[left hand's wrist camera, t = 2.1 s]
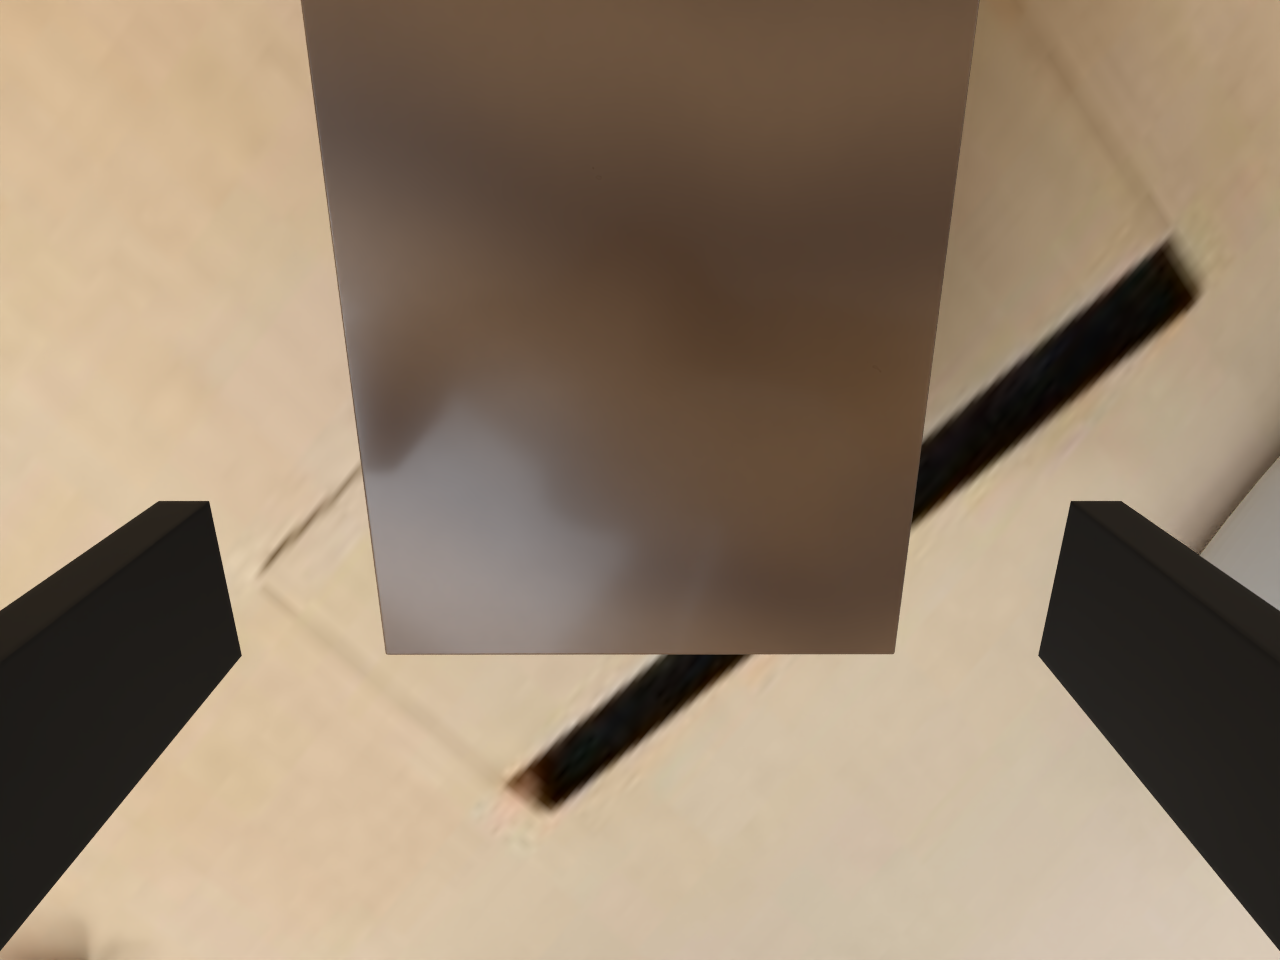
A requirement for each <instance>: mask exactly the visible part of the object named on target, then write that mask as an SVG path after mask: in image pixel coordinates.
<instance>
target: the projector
mask: <svg viewBox="0 0 1280 960" xmlns="http://www.w3.org/2000/svg"><path fill="white" fill-rule="evenodd" d="M1200 556H1201V557H1203V558H1204V559H1206V560H1207V561H1208V562H1210V563H1211V564H1213V565H1214V566H1216V567H1217V568H1219V569H1220V570H1221V571H1223V572H1224V573H1226V574H1227V575H1229V576H1230V577H1232V578H1233V579H1234V580H1236V581H1237V582H1239V583H1240V584H1242V585H1243V586H1245V587H1246V588H1247V589H1249V590H1250V591H1252V592H1253V593H1255V594H1256V595H1258V596H1259V597H1260V598H1262V599H1263V600H1265V601H1266V602H1268V603H1269V604H1271V605H1272V606H1273V607H1275V608H1276V609H1278V610H1279V611H1280V456H1279V457H1278V459H1277V460H1276V461H1275V462H1274V463H1273V464H1272V466H1271V467H1270V468H1269V469H1268V470H1267V471H1266V472H1265V474H1264V475H1263V476H1262V477H1261V478H1260V479H1259V481H1258V482H1257V483H1256V484H1255V485H1254V487H1253V488H1252V489H1251V490H1250V492H1249V493H1248V494H1247V495H1246V496H1245V498H1244V499H1243V500H1242V501H1241V503H1240V504H1239V505H1238V506H1237V508H1236V509H1235V510H1234V511H1233V512H1232V514H1231V515H1230V516H1229V517H1228V519H1227V520H1226V521H1225V523H1224V524H1223V525H1222V526H1221V528H1220V529H1219V530H1218V532H1217V533H1216V534H1215V536H1214V537H1213V538H1212V540H1211V541H1210V542H1209V544H1208V545H1207V546H1206V547H1205V549H1204V550H1203V551H1202V553H1201V554H1200Z"/></svg>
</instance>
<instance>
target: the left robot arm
mask: <svg viewBox="0 0 1280 960" xmlns="http://www.w3.org/2000/svg"><path fill="white" fill-rule="evenodd" d="M241 656H242V655H241V650H240V646H239V641H238V636H237V631H236V627H235V622H234V617H233V612H232V608H231V603H230V598H229V593H228V589H227V584H226V579H225V574H224V570H223V565H222V560H221V556H220V551H219V546H218V541H217V537H216V532H215V527H214V522H213V518H212V513H211V508H210V503H209V501H158V502H157V503H155V504H154V505H152V506H151V507H150V508H148V509H147V510H145V511H144V512H142V513H141V514H139V515H138V516H137V517H135V518H134V519H132V520H131V521H129V522H128V523H126V524H125V525H124V526H122V527H121V528H119V529H118V530H116V531H115V532H113V533H112V534H111V535H109V536H108V537H106V538H105V539H103V540H102V541H100V542H99V543H98V544H96V545H95V546H93V547H92V548H90V549H89V550H87V551H86V552H85V553H83V554H82V555H80V556H79V557H77V558H76V559H74V560H73V561H72V562H70V563H69V564H67V565H66V566H64V567H63V568H61V569H60V570H59V571H57V572H56V573H54V574H53V575H51V576H50V577H48V578H47V579H46V580H44V581H43V582H41V583H40V584H38V585H37V586H35V587H34V588H33V589H31V590H30V591H28V592H27V593H25V594H24V595H22V596H21V597H20V598H18V599H17V600H15V601H14V602H12V603H11V604H9V605H8V606H7V607H5V608H4V609H2V610H1V611H0V951H1V949H2V948H3V947H4V946H5V945H6V943H7V942H8V941H9V940H10V938H11V937H12V936H13V935H14V933H15V932H16V931H17V930H18V929H19V927H20V926H21V925H22V924H23V922H24V921H25V920H26V919H27V918H28V916H29V915H30V914H31V913H32V911H33V910H34V909H35V908H36V907H37V905H38V904H39V903H40V902H41V900H42V899H43V898H44V897H45V896H46V894H47V893H48V892H49V891H50V889H51V888H52V887H53V886H54V885H55V883H56V882H57V881H58V880H59V878H60V877H61V876H62V875H63V874H64V872H65V871H66V870H67V869H68V867H69V866H70V865H71V864H72V863H73V861H74V860H75V859H76V858H77V856H78V855H79V854H80V853H81V852H82V850H83V849H84V848H85V847H86V845H87V844H88V843H89V842H90V840H91V839H92V838H93V837H94V836H95V834H96V833H97V832H98V831H99V829H100V828H101V827H102V826H103V825H104V823H105V822H106V821H107V820H108V818H109V817H110V816H111V815H112V814H113V812H114V811H115V810H116V809H117V807H118V806H119V805H120V804H121V803H122V801H123V800H124V799H125V798H126V796H127V795H128V794H129V793H130V792H131V790H132V789H133V788H134V787H135V785H136V784H137V783H138V782H139V781H140V779H141V778H142V777H143V776H144V774H145V773H146V772H147V771H148V770H149V768H150V767H151V766H152V765H153V763H154V762H155V761H156V760H157V759H158V757H159V756H160V755H161V754H162V752H163V751H164V750H165V749H166V747H167V746H168V745H169V744H170V743H171V741H172V740H173V739H174V738H175V736H176V735H177V734H178V733H179V732H180V730H181V729H182V728H183V727H184V725H185V724H186V723H187V722H188V721H189V719H190V718H191V717H192V716H193V714H194V713H195V712H196V711H197V710H198V708H199V707H200V706H201V705H202V703H203V702H204V701H205V700H206V699H207V697H208V696H209V695H210V694H211V692H212V691H213V690H214V689H215V688H216V686H217V685H218V684H219V683H220V681H221V680H222V679H223V678H224V677H225V675H226V674H227V673H228V672H229V670H230V669H231V668H232V667H233V666H234V664H235V663H236V662H237V661H238V659H239V658H240V657H241ZM1038 656H1039V657H1040V658H1041V659H1042V661H1043V662H1044V663H1045V664H1046V666H1047V667H1048V668H1049V669H1050V670H1051V672H1052V673H1053V674H1054V675H1055V677H1056V678H1057V679H1058V680H1059V681H1060V683H1061V684H1062V685H1063V686H1064V688H1065V689H1066V690H1067V691H1068V692H1069V694H1070V695H1071V696H1072V697H1073V699H1074V700H1075V701H1076V702H1077V703H1078V705H1079V706H1080V707H1081V708H1082V710H1083V711H1084V712H1085V713H1086V714H1087V716H1088V717H1089V718H1090V719H1091V721H1092V722H1093V723H1094V724H1095V725H1096V727H1097V728H1098V729H1099V730H1100V732H1101V733H1102V734H1103V735H1104V736H1105V738H1106V739H1107V740H1108V741H1109V743H1110V744H1111V745H1112V746H1113V747H1114V749H1115V750H1116V751H1117V752H1118V754H1119V755H1120V756H1121V757H1122V759H1123V760H1124V761H1125V762H1126V763H1127V765H1128V766H1129V767H1130V768H1131V770H1132V771H1133V772H1134V773H1135V774H1136V776H1137V777H1138V778H1139V779H1140V781H1141V782H1142V783H1143V784H1144V785H1145V787H1146V788H1147V789H1148V790H1149V792H1150V793H1151V794H1152V795H1153V796H1154V798H1155V799H1156V800H1157V801H1158V803H1159V804H1160V805H1161V806H1162V807H1163V809H1164V810H1165V811H1166V812H1167V814H1168V815H1169V816H1170V817H1171V818H1172V820H1173V821H1174V822H1175V823H1176V825H1177V826H1178V827H1179V828H1180V829H1181V831H1182V832H1183V833H1184V834H1185V836H1186V837H1187V838H1188V839H1189V840H1190V842H1191V843H1192V844H1193V845H1194V847H1195V848H1196V849H1197V850H1198V852H1199V853H1200V854H1201V855H1202V856H1203V858H1204V859H1205V860H1206V861H1207V863H1208V864H1209V865H1210V866H1211V867H1212V869H1213V870H1214V871H1215V872H1216V874H1217V875H1218V876H1219V877H1220V878H1221V880H1222V881H1223V882H1224V883H1225V885H1226V886H1227V887H1228V888H1229V889H1230V891H1231V892H1232V893H1233V894H1234V896H1235V897H1236V898H1237V899H1238V900H1239V902H1240V903H1241V904H1242V905H1243V907H1244V908H1245V909H1246V910H1247V911H1248V913H1249V914H1250V915H1251V916H1252V918H1253V919H1254V920H1255V921H1256V922H1257V924H1258V925H1259V926H1260V927H1261V929H1262V930H1263V931H1264V932H1265V933H1266V935H1267V936H1268V937H1269V938H1270V940H1271V941H1272V942H1273V943H1274V945H1275V946H1276V947H1277V948H1278V949H1279V951H1280V611H1279V610H1278V609H1276V608H1275V607H1273V606H1272V605H1271V604H1269V603H1268V602H1266V601H1265V600H1263V599H1262V598H1260V597H1259V596H1258V595H1256V594H1255V593H1253V592H1252V591H1250V590H1249V589H1247V588H1246V587H1245V586H1243V585H1242V584H1240V583H1239V582H1237V581H1236V580H1234V579H1233V578H1232V577H1230V576H1229V575H1227V574H1226V573H1224V572H1223V571H1221V570H1220V569H1219V568H1217V567H1216V566H1214V565H1213V564H1211V563H1210V562H1208V561H1207V560H1206V559H1204V558H1203V557H1201V556H1200V555H1198V554H1197V553H1195V552H1194V551H1193V550H1191V549H1190V548H1188V547H1187V546H1185V545H1184V544H1182V543H1181V542H1180V541H1178V540H1177V539H1175V538H1174V537H1172V536H1171V535H1169V534H1168V533H1167V532H1165V531H1164V530H1162V529H1161V528H1159V527H1158V526H1156V525H1155V524H1154V523H1152V522H1151V521H1149V520H1148V519H1146V518H1145V517H1143V516H1142V515H1141V514H1139V513H1138V512H1136V511H1135V510H1133V509H1132V508H1130V507H1129V506H1128V505H1126V504H1125V503H1123V502H1122V501H1071V503H1070V508H1069V513H1068V518H1067V522H1066V527H1065V532H1064V537H1063V541H1062V546H1061V551H1060V556H1059V560H1058V565H1057V570H1056V574H1055V579H1054V584H1053V589H1052V593H1051V598H1050V603H1049V608H1048V612H1047V617H1046V622H1045V627H1044V631H1043V636H1042V641H1041V646H1040V650H1039V655H1038Z"/></svg>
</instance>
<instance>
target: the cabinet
mask: <svg viewBox="0 0 1280 960" xmlns="http://www.w3.org/2000/svg"><path fill="white" fill-rule="evenodd" d="M301 5H302V12H303V20H304V28H305V36H306V43H307V51H308V59H309V66H310V74H311V82H312V89H313V97H314V105H315V113H316V120H317V128H318V136H319V143H320V151H321V159H322V166H323V174H324V182H325V189H326V197H327V205H328V213H329V220H330V228H331V236H332V243H333V251H334V259H335V266H336V274H337V282H338V289H339V297H340V305H341V313H342V320H343V328H344V336H345V343H346V351H347V359H348V366H349V374H350V382H351V390H352V397H353V405H354V413H355V420H356V428H357V436H358V443H359V451H360V459H361V466H362V474H363V482H364V490H365V497H366V505H367V513H368V520H369V528H370V536H371V543H372V551H373V559H374V566H375V574H376V582H377V590H378V597H379V605H380V613H381V620H382V628H383V636H384V643H385V651H386V654H387V655H480V654H894V652H895V645H896V637H897V629H898V621H899V614H900V606H901V598H902V591H903V583H904V575H905V568H906V560H907V552H908V545H909V537H910V529H911V522H912V514H913V506H914V499H915V491H916V483H917V476H918V468H919V460H920V452H921V445H922V437H923V429H924V422H925V414H926V406H927V399H928V391H929V383H930V376H931V368H932V360H933V353H934V345H935V337H936V330H937V322H938V314H939V306H940V299H941V291H942V283H943V276H944V268H945V260H946V253H947V245H948V237H949V230H950V222H951V214H952V207H953V199H954V191H955V184H956V176H957V168H958V161H959V153H960V145H961V137H962V130H963V122H964V114H965V107H966V99H967V91H968V84H969V76H970V68H971V61H972V53H973V45H974V38H975V30H976V22H977V15H978V7H979V0H301Z"/></svg>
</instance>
